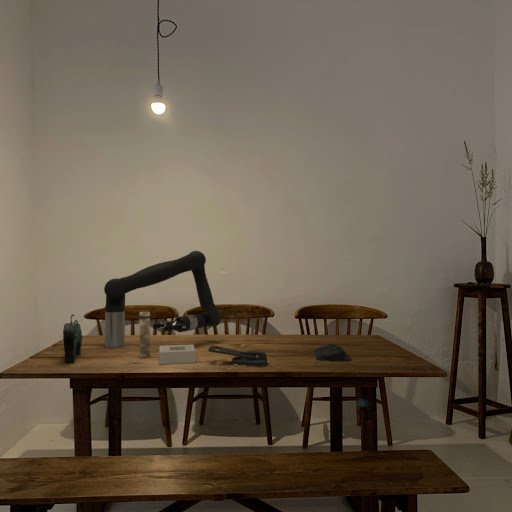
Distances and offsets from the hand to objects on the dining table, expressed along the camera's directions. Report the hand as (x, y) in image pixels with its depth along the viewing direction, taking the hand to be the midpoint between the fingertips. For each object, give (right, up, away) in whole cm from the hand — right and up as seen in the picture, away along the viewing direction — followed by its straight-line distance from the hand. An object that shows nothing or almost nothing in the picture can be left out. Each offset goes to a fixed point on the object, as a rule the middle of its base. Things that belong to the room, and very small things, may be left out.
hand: (158, 327), depth 217 cm
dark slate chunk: (+79, -13, -2) cm, 80 cm away
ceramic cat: (-36, -12, -10) cm, 39 cm away
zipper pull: (+37, -13, -17) cm, 43 cm away
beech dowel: (-5, -12, -5) cm, 14 cm away
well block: (+10, -12, -11) cm, 19 cm away
